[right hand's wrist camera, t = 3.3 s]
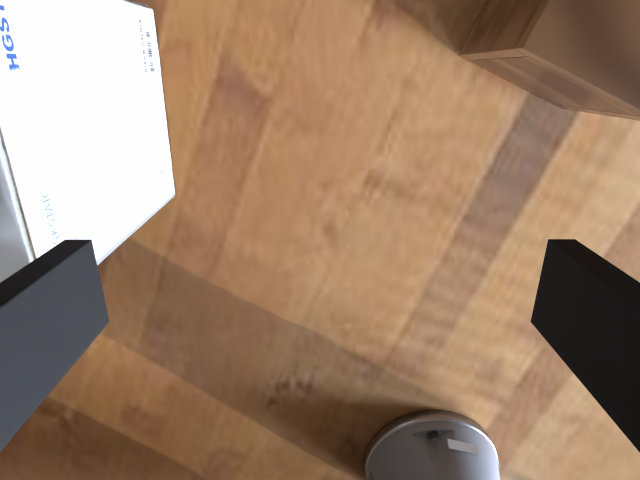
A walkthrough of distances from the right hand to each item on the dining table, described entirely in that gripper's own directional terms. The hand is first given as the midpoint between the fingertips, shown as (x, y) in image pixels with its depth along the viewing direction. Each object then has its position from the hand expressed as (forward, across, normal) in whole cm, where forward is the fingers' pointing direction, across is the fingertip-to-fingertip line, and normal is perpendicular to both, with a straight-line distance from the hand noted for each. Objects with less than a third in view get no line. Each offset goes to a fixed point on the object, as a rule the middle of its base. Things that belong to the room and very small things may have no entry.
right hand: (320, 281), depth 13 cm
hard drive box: (+26, +17, -3) cm, 31 cm away
